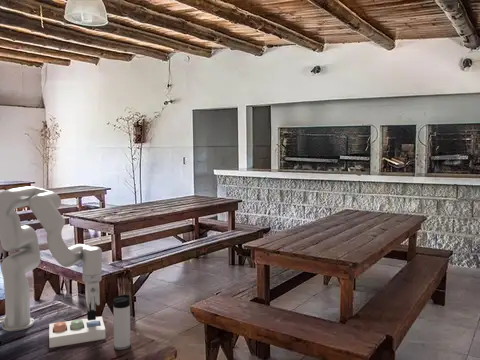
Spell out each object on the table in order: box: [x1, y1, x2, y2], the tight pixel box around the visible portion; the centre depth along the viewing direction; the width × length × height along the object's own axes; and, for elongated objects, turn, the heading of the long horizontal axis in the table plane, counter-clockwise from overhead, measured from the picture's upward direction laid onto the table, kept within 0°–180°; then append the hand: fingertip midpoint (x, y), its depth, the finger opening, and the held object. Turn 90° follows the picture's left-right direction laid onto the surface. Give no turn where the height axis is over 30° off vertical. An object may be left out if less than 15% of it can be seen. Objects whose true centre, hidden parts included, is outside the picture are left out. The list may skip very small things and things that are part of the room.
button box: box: [48, 316, 107, 349], centre depth 181 cm, size 21×14×4 cm, turn 113°
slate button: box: [88, 321, 99, 327], centre depth 184 cm, size 5×5×4 cm
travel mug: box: [113, 294, 131, 351], centre depth 172 cm, size 6×7×20 cm
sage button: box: [71, 319, 83, 330], centre depth 181 cm, size 5×5×4 cm
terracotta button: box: [54, 321, 66, 333], centre depth 178 cm, size 5×5×4 cm
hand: (91, 319), depth 183 cm, fingers closed
